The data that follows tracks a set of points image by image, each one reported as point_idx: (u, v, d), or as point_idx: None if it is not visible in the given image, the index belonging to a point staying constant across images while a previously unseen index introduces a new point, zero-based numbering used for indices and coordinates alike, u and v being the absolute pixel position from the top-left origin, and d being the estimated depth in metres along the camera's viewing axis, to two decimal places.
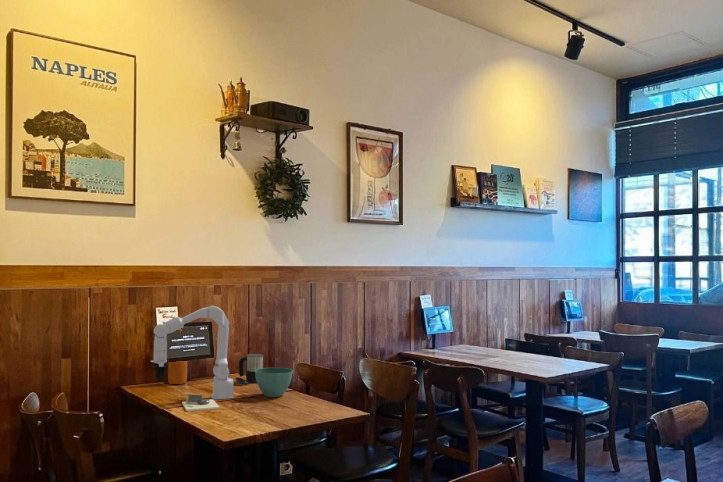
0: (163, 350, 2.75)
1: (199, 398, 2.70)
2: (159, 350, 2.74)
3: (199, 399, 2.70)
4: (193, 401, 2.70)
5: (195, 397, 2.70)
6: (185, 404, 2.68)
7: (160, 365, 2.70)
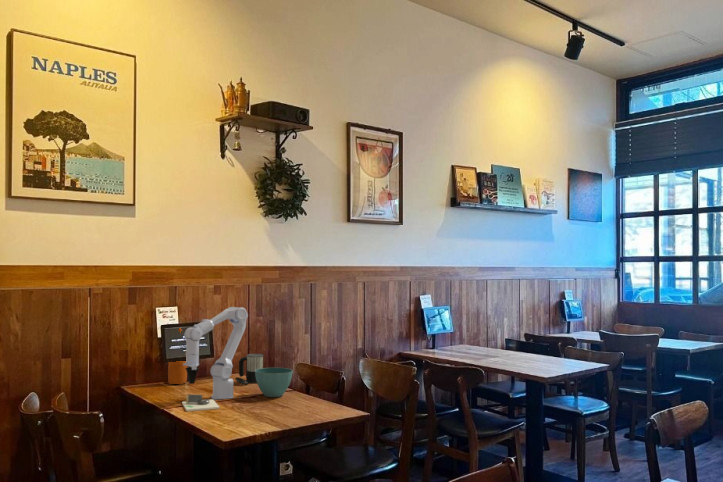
0: (197, 353, 2.76)
1: (199, 398, 2.70)
2: (194, 353, 2.74)
3: (199, 399, 2.70)
4: (193, 401, 2.70)
5: (195, 397, 2.70)
6: (185, 404, 2.68)
7: (193, 368, 2.69)
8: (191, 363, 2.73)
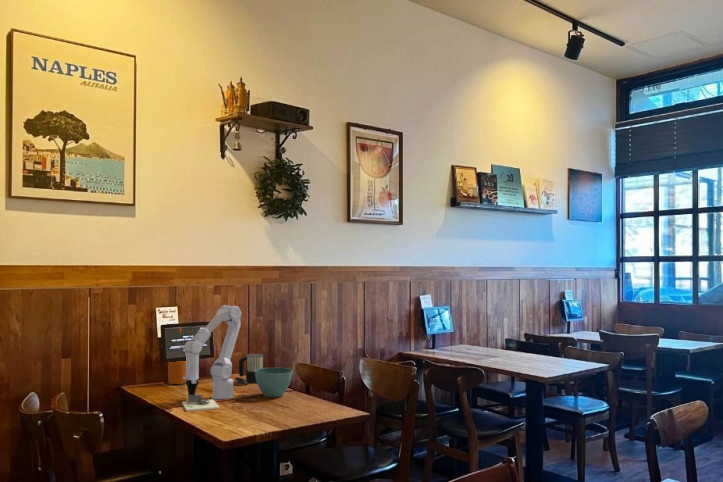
0: (197, 366, 2.75)
1: (199, 398, 2.70)
2: (194, 367, 2.74)
3: (199, 399, 2.70)
4: (193, 401, 2.70)
5: (195, 397, 2.70)
6: (185, 404, 2.68)
7: (193, 382, 2.69)
8: (191, 377, 2.73)
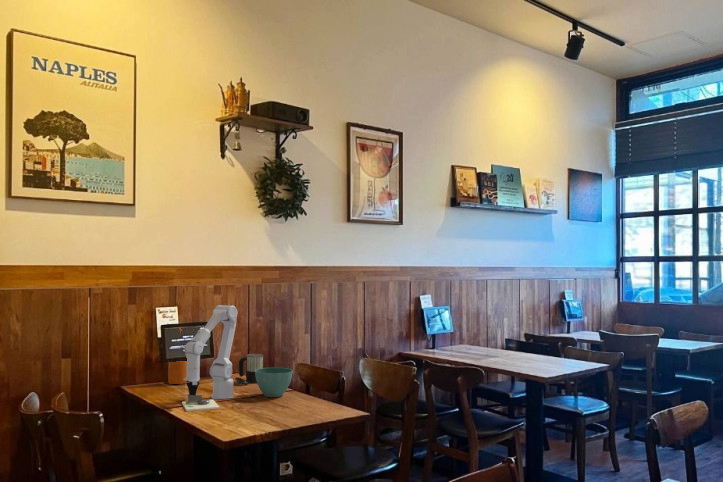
0: (199, 367, 2.72)
1: (199, 398, 2.69)
2: (196, 368, 2.71)
3: (199, 399, 2.69)
4: (193, 401, 2.70)
5: (195, 397, 2.70)
6: (185, 404, 2.68)
7: (194, 383, 2.65)
8: (192, 378, 2.69)
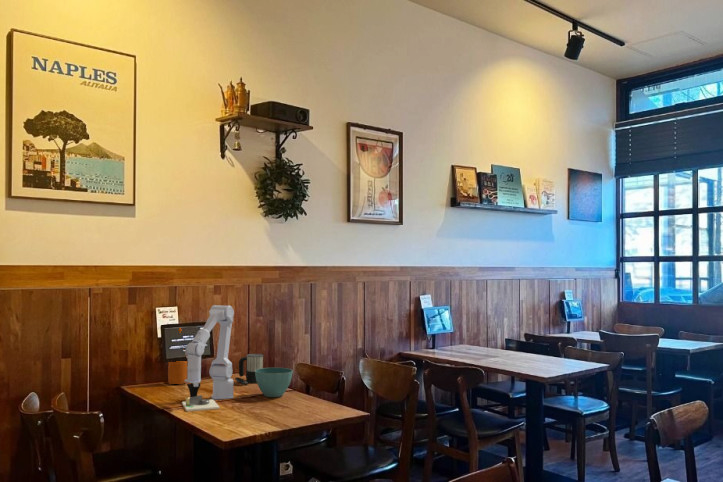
0: (200, 368, 2.69)
1: (200, 399, 2.68)
2: (198, 369, 2.67)
3: (200, 400, 2.68)
4: (194, 403, 2.67)
5: (196, 398, 2.67)
6: (185, 404, 2.68)
7: (195, 385, 2.62)
8: (193, 379, 2.66)
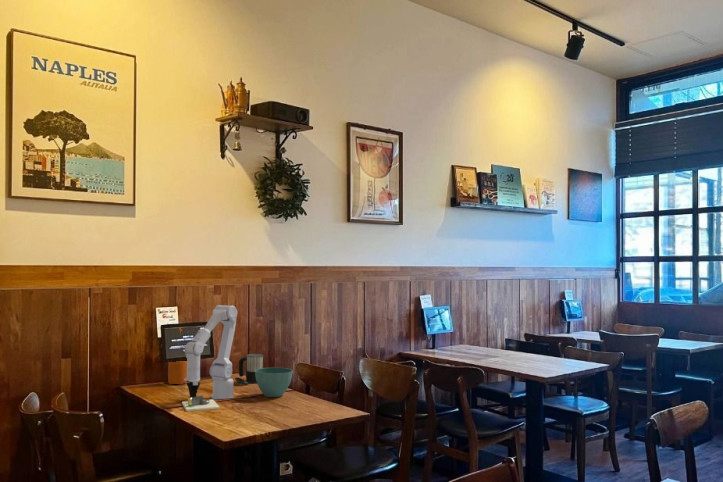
0: (199, 367, 2.72)
1: (201, 399, 2.68)
2: (196, 368, 2.70)
3: (201, 400, 2.68)
4: (196, 403, 2.66)
5: (197, 398, 2.67)
6: (185, 404, 2.68)
7: (194, 384, 2.65)
8: (192, 378, 2.69)
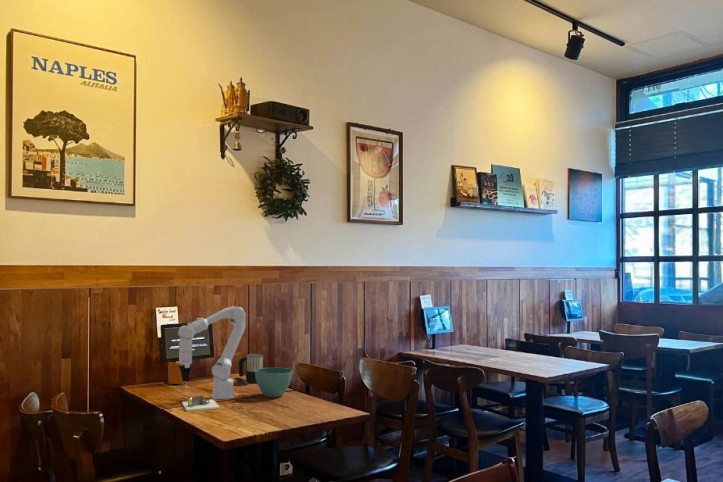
0: (189, 351, 2.77)
1: (201, 399, 2.68)
2: (186, 351, 2.76)
3: (201, 400, 2.68)
4: (196, 403, 2.66)
5: (197, 398, 2.67)
6: (185, 404, 2.68)
7: (186, 366, 2.71)
8: (184, 361, 2.75)
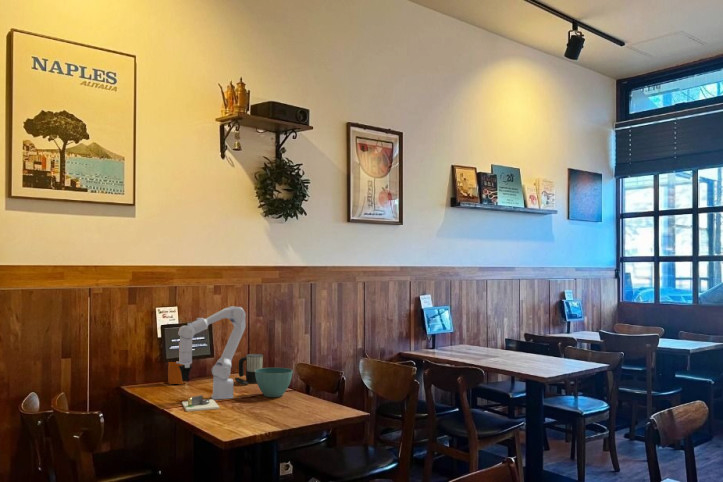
0: (189, 351, 2.77)
1: (201, 399, 2.68)
2: (186, 351, 2.76)
3: (201, 400, 2.68)
4: (196, 403, 2.66)
5: (197, 398, 2.67)
6: (185, 404, 2.68)
7: (186, 366, 2.71)
8: (184, 361, 2.75)
